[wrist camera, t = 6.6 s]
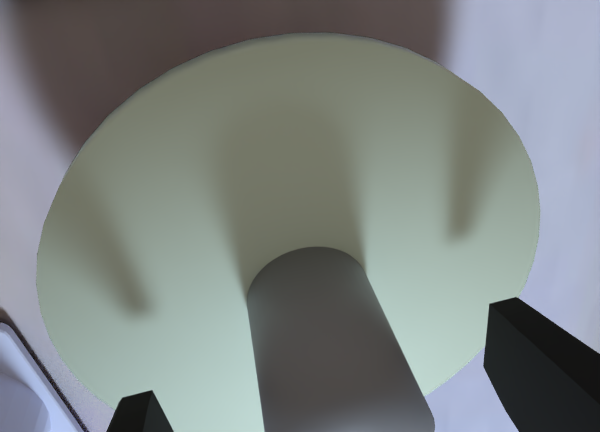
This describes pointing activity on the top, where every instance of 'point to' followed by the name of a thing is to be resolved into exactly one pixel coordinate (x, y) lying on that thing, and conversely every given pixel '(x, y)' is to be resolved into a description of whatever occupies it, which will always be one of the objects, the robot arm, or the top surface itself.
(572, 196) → the top surface
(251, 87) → the lid
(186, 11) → the top surface
